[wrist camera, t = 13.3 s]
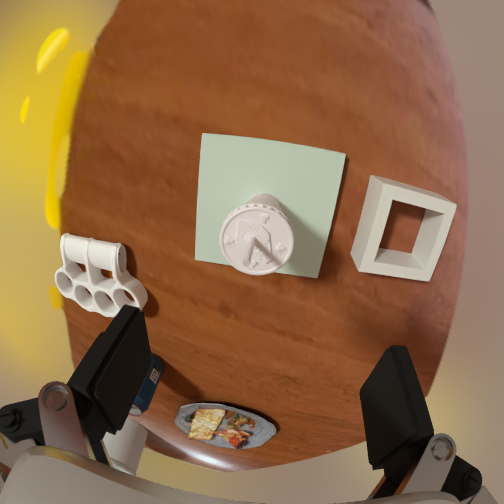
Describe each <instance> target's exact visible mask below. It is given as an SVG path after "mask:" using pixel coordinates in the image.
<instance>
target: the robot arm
mask: <svg viewBox="0 0 504 504" xmlns="http://www.w3.org/2000/svg"><path fill="white" fill-rule="evenodd" d="M151 362H152V355H151V350H150V345H149V340H148V335H147V329H146V323H145V317H144V313H143V312H141V311H140V308H138V307H134V306H131V305H127V304H125V305H123V306H122V308H121V309H120V311H119V312H118V313H117V315H116V316H115V318H114V319H113V320H112V322H111V323H110V325H109V326H108V328H107V329H106V331H105V332H102V333H100V334H99V336H98V337H97V338H96V340H95V341H94V343H93V344H92V346H91V347H90V349H89V350H88V352H87V353H86V355H85V356H84V358H83V359H82V361H81V362H80V364H79V365H78V367H77V368H76V370H75V372H74V373H73V375H72V376H71V378H70V380H69V381H68V383H67V384H65V383H63V382H59V381H54V382H50V383H47V384H46V385H45V386H43V388H42V389H41V390H40V393H39V395H38V398H34V399H30V400H26V401H22V402H17V403H13V404H9V405H6V406H3V407H2V408H1V409H0V504H263V503H251V502H242V501H235V500H227V499H221V498H215V497H210V496H204V495H200V494H195V493H191V492H186V491H182V490H178V489H174V488H171V487H167V486H164V485H161V484H157V483H154V482H151V481H148V480H145V479H142V478H139V477H136V476H133V475H131V474H128V473H125V472H122V471H120V470H117V469H115V468H114V467H113V465H112V462H111V460H110V457H109V455H108V452H107V449H106V447H105V444H104V441H103V438H104V436H105V434H106V432H108V433H110V434H113V435H116V432H117V430H118V431H120V430H121V429H122V428H123V426H124V423H125V421H126V419H127V416H128V414H129V412H130V410H131V407H132V405H133V403H134V400H135V398H136V396H137V394H138V392H139V389H140V387H141V385H142V383H143V381H144V378H145V376H146V374H147V372H148V370H149V368H150V365H151ZM360 400H361V406H362V413H363V419H364V426H365V434H366V442H367V450H368V459H369V463H370V464H371V465H372V468H373V470H377V469H384V476H383V477H382V479H381V480H380V482H379V483H378V485H377V486H376V487H375V489H374V490H373V492H372V493H371V494H370V495H369V497H368V498H367V500H364V501H356V502H347V503H337V504H498V503H497V502H496V500H495V499H494V498H493V496H492V495H491V494H490V492H489V491H488V490H487V488H486V487H485V486H482V487H481V485H482V476H481V473H480V471H479V470H478V469H477V468H475V467H473V466H472V465H470V464H469V463H467V462H466V461H464V460H463V459H461V458H460V457H458V456H457V455H456V445H455V442H454V440H453V439H452V438H451V437H450V436H449V435H447V434H444V433H440V434H436V435H435V436H434V429H433V425H432V422H431V418H430V415H429V411H428V408H427V405H426V401H425V398H424V395H423V392H422V389H421V386H420V383H419V380H418V377H417V374H416V371H415V369H414V366H413V363H412V360H411V358H410V355H409V352H408V350H407V348H406V346H397V345H392V346H390V348H389V349H386V350H385V352H384V353H383V355H382V357H381V358H380V360H379V362H378V363H377V365H376V366H375V368H374V369H373V371H372V372H371V374H370V375H369V377H368V378H367V380H366V381H365V383H364V384H363V386H362V387H361V389H360Z"/></svg>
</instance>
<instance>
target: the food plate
mask: <svg viewBox="0 0 504 504" xmlns="http://www.w3.org/2000/svg"><path fill="white" fill-rule="evenodd" d="M226 410H229V411H233V412H237V413H240V414H234V415H232V417H230V418H229V419H227V420H224V419H225V415H226ZM241 414H243V415H246V416H248V417H250V418H251V419H253V420H255V422H257V424H256V426H258V427H257V428H256V426H255V428H254V429H255V430H254V431H255V432H254V431H253V429H252V432H251V430H250V429H251V428H249V427H250V426H252V425H249V426H248V425H247V424H246V423H247V422H248V420H249V418H246V417H244V416H243V415H241ZM175 424H176V425H177V426H178V427H179V428H180V429H181V430H182V431H183V432H184V433H185V434H187V435H188V438H189V439H190V440H191V439H193V440H198V441H201V442H204V443H207V444H209V445H212V446H217V447H221V448H230V449H235V450H237V449H246V448H253V447H256V446H261V445H262V444H264V443H265V442H266V441H268V440H269V439H270V438H271V437H272V436H274V435H275V434H276V428H275V426H274V425H273V424H271V423H270V422H267V421H266V420H265V419H264V418H262V417H260V416H259V415H254V414H253V413H251V412H246V411H243V410H239V409H237V408H233V407H229V406H225V405H223V404H214V403H213V404H212V403H210V404H209V403H195V404H189V405H185V406H182V407H181V408H180V409H179V411H178V413H177V416H176V418H175ZM248 428H249V429H248ZM220 429H222V430H220ZM257 429H258V430H257Z"/></svg>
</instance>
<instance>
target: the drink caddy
mask: <svg viewBox="0 0 504 504" xmlns="http://www.w3.org/2000/svg"><path fill="white" fill-rule="evenodd" d="M392 200H396V201H400V202H404V203H408V204H412V205H415V206H419V207H423V208H426V211H425V214H424V217H423V221H422V224H421V227H420V230H419V233H418V236H417V239H416V242H415V245H414V248H413V250H412V253H411V254H410V253H405V252H400V251H394V250H389V249H384V248H379V244H380V241H381V238H382V235H383V232H384V228H385V225H386V221H387V218H388V214H389V211H390V207H391V203H392ZM456 206H457V205H456V204H455V203H453V202H452V201H450V200H448V199H447V198H445V197H443V196H442V195H440V194H437V193H434V192H431V191H428V190H425V189H421V188H418V187H415V186H411V185H408V184H404V183H401V182H397V181H394V180H390V179H386V178H382V177H378V176H374V175H371V176H370V180H369V185H368V189H367V193H366V197H365V202H364V206H363V210H362V214H361V217H360V221H359V225H358V229H357V232H356V236H355V239H354V243H353V246H352V250H351V253H350V254H351V256H352V258H353V260H354V262H355V265H356V267H357V269H358V271H360V272H367V273H374V274H380V275H387V276H394V277H401V278H408V279H414V280H421V281H428V282H429V280H430V278H431V276H432V273H433V271H434V269H435V266H436V264H437V261H438V259H439V256H440V254H441V251H442V248H443V246H444V243H445V240H446V237H447V235H448V232H449V229H450V226H451V223H452V220H453V216H454V213H455V210H456Z"/></svg>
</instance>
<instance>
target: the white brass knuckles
mask: <svg viewBox="0 0 504 504" xmlns="http://www.w3.org/2000/svg"><path fill="white" fill-rule="evenodd" d="M60 249H61V255H62V260H63V266H62V267H61V268H60V269H58V270H57V271H56V273H55V282H56V285H57V287H58V289H59V291H60V292H61V293H62V294H63V295H64V296H65V297H66V298H71V299H73V300H75V301H76V302H77V303H78V304H79V305H80V306H81V307H83V308H84V309H86V310H88V311H90V312H92V311H94V312H98V313H100V314H102V315H104V316H105V317H115V316H116V315H117V313H118V312H119V311H120V309H121V308H122V306H123V305H125V304H127V305H131V306H134V307H138V308H140V311H141V310H142V309H143V307H144V306H145V304H146V303H147V299H148V295H147V291H146V289H145V287H144V286H143V285H142V283H141V282H140V281H139V280H137V279H136V278H134V277H132V276H131V275H130V274H129V272H128V271H127V269H126V261H127V259H126V250H125V247H124V245H121V243H111V242H106V241H100V240H95V239H93V238H91V237H90V238H85V237H80V236H75V235H70V234H69V233H66V234H63V235H62V237H61V242H60ZM119 253H120V255H118V254H119ZM76 262H77V263H81V264H85V266H86V271H87V272H84V271H82V270H81V268H80V267H79V266H78V265H77V264H76ZM101 269H105V270H109V271H112V273H113V278H114V279H110V278H106V277H104V276H103V275H102V273H101ZM67 276H68V277H69V278H70V280H71V281H72V283H71V282H70V280H69V279H68V277H67ZM85 287H86V288H87V289H88V290H89V291H90V293H91V294H92V296H91V295H90V294H89V293H88V292H87V291H86V289H85ZM123 289H124V290H126V291H128V292H129V293H130V294H131V295H132V296H133V298H134V300H135V302H134V301H131V300H130V299H129V298H128V297H127V296H126V295H125V293H124V290H123ZM105 293H106V294H108V295H109V296H110V297H111V299H112V300H113V302H114V303H113V302H112V301H110V300H109V299H108V298H107V296H106V294H105Z"/></svg>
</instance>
